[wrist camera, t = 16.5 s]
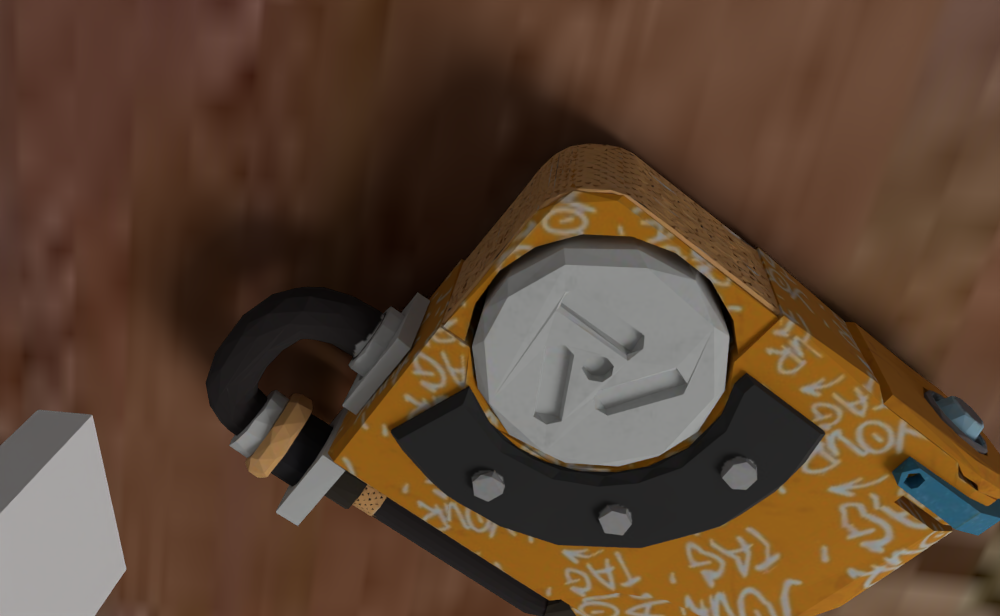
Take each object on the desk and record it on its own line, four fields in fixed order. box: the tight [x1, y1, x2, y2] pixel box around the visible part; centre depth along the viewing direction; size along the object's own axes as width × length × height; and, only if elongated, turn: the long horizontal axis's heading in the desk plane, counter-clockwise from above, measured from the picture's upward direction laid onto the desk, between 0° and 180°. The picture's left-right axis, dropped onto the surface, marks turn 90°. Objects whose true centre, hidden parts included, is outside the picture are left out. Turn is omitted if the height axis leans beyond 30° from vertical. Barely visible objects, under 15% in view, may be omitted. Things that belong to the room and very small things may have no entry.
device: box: [206, 143, 1000, 616], centre depth 38 cm, size 23×8×30 cm
